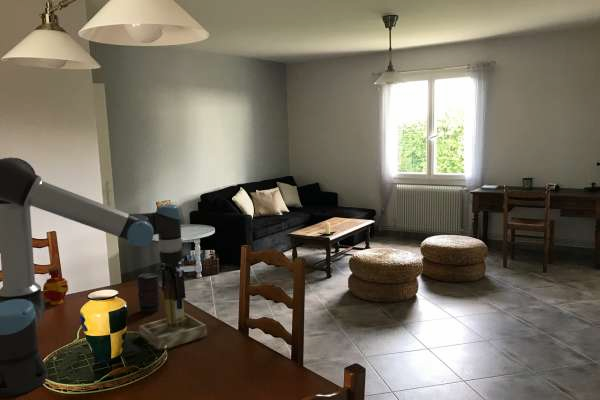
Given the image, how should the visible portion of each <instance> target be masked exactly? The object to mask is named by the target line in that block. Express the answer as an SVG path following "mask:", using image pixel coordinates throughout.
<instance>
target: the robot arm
mask: <svg viewBox="0 0 600 400" xmlns="http://www.w3.org/2000/svg"><path fill="white" fill-rule="evenodd" d="M31 207H33V208H36V209H39V210H41V211H42V210H43V211H45V212H47V213H50V214H54V215H56V216H58V217H62V218H65V219H67V220H69V221H73V222H76V223H79V224H82V225H85V226H87V227H89V228H93V229H96V230H99V231H101V232H104V233H107V234H110V235H112V236H116V237H118V238H121V239H123V240H126V241H128V242H129V243H130V244H131V245H134V246H137V247H144V246H146V245H149V244H150V243H151V242H152V240H153V238H154V235H155V236H156V235H158V250H159V262H160V263H161V264H160V270H161V271H160V273H161V275H160V276H161V277H160V278H161V291H162V292H164V288H165V286H166V275H165V271H168V273H169V277H170V280H171V281H172V285H173V290H174V295H175V299H173V300H174V309H175V318H180V317H183V305H184V301H183V302H182V299H183V300H184V299H186V286H185V270H184V269H180V264H179V263H180V262H182V261H183V250H182V248H183V247H182V246H183V245H182V241H183V239H182V226H181V224H182V223H181V213H180V207H179V206H178V205H176V204H163V205H158V206H157V207H156V211H154V212H145V213H144V212H143V213H127V212H124V211H122V210H119V209H116V208H115V207H111V206H109V205H106V204H104V203H101V202H98V201H96V200H94V199H90V198H87V197H85V196H82V195H80V194H77V193H74V192H72V191H69V190H67V189H65V188H61V187H59V186H56V185H53V184H51V183H49V182H46V181H44V180H43V179H42V177H41V175H38V174H37V173H36V171H35V169H34V168H33V166H32V165H31V164H30V163H29V162H27V161H26V160H24V159H21V158H18V157H3V158H0V264H1V278H2V281H1V282H2V287H1V288H0V398H11V397H16V396H20V395H23V394H25V393H28V392H30V391H33V390H35V389H37V388H39V387H41V386H42V385H44V383H45V382H46V381H45V379H47V380H48V377H49V374H48V368H47V366H46V364H45V362H44V360H43V359H42V357H41V354H40V353H39V344H38V335H37V333H38V331H37V330H38V329H37V328H38V327H39V324H40V322H41V320H42V319H43V316H44V313H45V301H44V298H43V296H42V287H41V285H40V284H38V283H37V282H36V276H35V263H34V261H35V259H34V247H33V245H34V244H33V233H32V230H33V229H32V217H31V214H32V213H31ZM173 277H175V278H173ZM44 381H45V382H44Z"/></svg>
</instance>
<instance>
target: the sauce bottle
mask: <svg viewBox="0 0 600 400" xmlns="http://www.w3.org/2000/svg"><path fill="white" fill-rule="evenodd" d="M165 275H166V286H165V288H164V291H163V296H164V298H163V300H164V309H165V310H164V311H165V318H166V322H167V325H168V327H172V328H176V327H180V326H182V325H184V323H185V320H184V319H185V316H184V313H185V308H184V304H183V317H180V318H175V309H174V300H173V299H175V295H174V290H173V285H172V281H171V280H170V277H169V273H168V271H165ZM173 278H175V277H173ZM182 302H183V303H184V299H182Z"/></svg>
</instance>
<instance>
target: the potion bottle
mask: <svg viewBox="0 0 600 400" xmlns="http://www.w3.org/2000/svg"><path fill="white" fill-rule="evenodd" d="M59 269H60V268H59V267H58V268H57V267H54V268H53V267H52V268H49V269H48V275H49V276H50V278H47V279H46V281H45V283H44V284H43V287H42V290H41V293H42V294H43V296H44V297H45V298H47V299H48V300H49V301H50V305H53V306H55V305H60V304H63V303H64V300H63V299H64V298H65V296H66V294H67V293H68V292H69V285H68V280H67V279H66V278H64V277H60V276H59V274H61V271H60V270H59Z"/></svg>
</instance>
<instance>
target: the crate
mask: <svg viewBox="0 0 600 400" xmlns="http://www.w3.org/2000/svg"><path fill="white" fill-rule="evenodd" d="M184 316H185V319H184V320H185V323H184V325H182V326H180V327H176V328H172V327H168V325H167V322H166V317H165V318H163V319H159V320H156V321H152V322H147V323H144V324H142V325H141V324H140V325H138V329H139V331H138V332H139V335H140V334H141V335H142V336H143V337H144V338H145V339H147V340H148V341H149V342H150V343H151V344H153V345H154V346H155V347H156V348H158V349H160V348H163V347H164V346H165V345H167V347H168V349H171V348H174V347H177V346H179V345H182V344H186V343H190V342H192V341H195V340H198V339H202V338H204V337H207V336H208V328H207V324H206V323H204V322H202V321H200V320H198V319H197V318H195V317H194V316H192V315H190V314H188V313H186V312H184ZM157 336H158V337H157ZM159 337H160V338H159Z"/></svg>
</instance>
